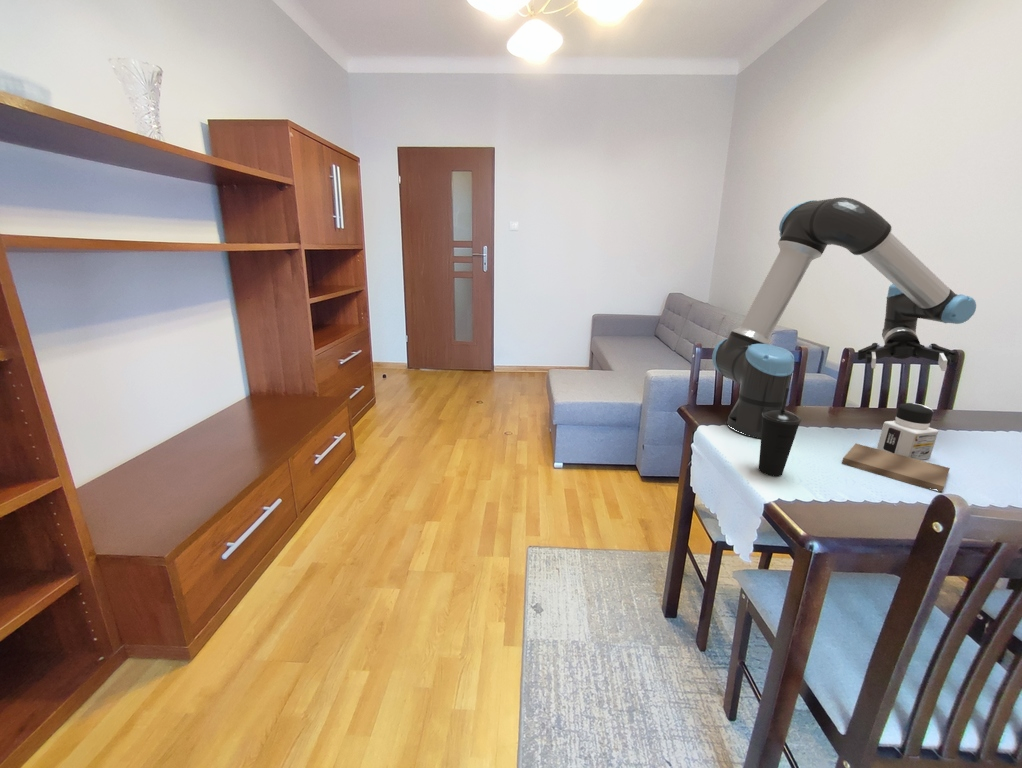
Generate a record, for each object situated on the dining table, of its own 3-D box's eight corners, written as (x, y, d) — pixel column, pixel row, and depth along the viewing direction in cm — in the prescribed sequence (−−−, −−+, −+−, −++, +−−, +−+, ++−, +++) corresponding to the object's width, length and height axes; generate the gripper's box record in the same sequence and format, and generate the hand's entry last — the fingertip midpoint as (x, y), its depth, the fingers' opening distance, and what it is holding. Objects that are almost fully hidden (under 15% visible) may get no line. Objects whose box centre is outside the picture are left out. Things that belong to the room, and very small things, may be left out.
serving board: (841, 463, 110) (843, 457, 109) (854, 448, 118) (855, 443, 118) (941, 492, 97) (943, 486, 97) (947, 473, 106) (949, 468, 105)
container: (907, 462, 111) (922, 412, 108) (875, 448, 119) (889, 401, 115) (930, 459, 113) (946, 409, 110) (897, 446, 121) (911, 399, 117)
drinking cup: (779, 465, 108) (797, 384, 102) (795, 480, 101) (815, 394, 95) (746, 462, 109) (761, 382, 103) (759, 478, 102) (777, 392, 96)
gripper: (959, 356, 126) (974, 381, 110) (846, 354, 140) (845, 375, 124) (963, 330, 123) (979, 351, 107) (848, 330, 138) (848, 349, 122)
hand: (908, 364), depth 116 cm, fingers open, 13 cm apart
